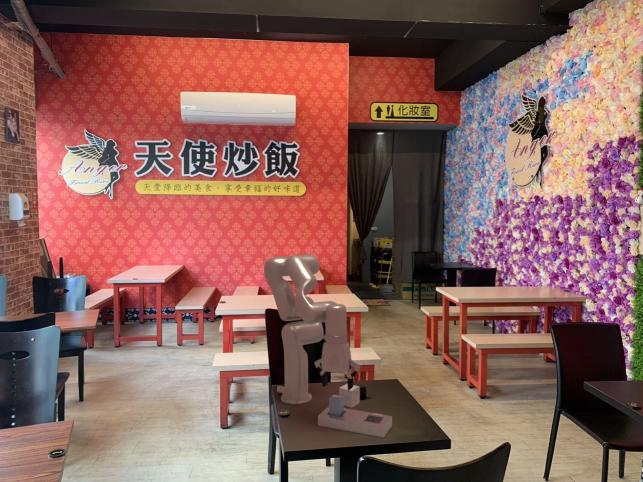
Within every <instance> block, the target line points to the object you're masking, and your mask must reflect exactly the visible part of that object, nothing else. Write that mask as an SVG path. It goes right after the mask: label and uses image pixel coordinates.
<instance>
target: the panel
mask: <svg viewBox="0 0 643 482" xmlns="http://www.w3.org/2000/svg"><path fill="white" fill-rule="evenodd" d="M317 426H319V427H323V428H325V427H326V428H329V429H334V430H341V431H346V432H351V433H356V434H362V435H367V436H372V437H377V438H382V439H383V438H385V437H386V435H387V434H388V432H389V431H390V430H391V428H392V427H393V416H392V415H387V414H382V413H376V412H369V411H364V410H358V409H353V408H345V407H344V414H343V415H342V416H341V417H339V416H333V415H329V405H328V406H326V408H324V410H323V411H321V412H320V414H317Z"/></svg>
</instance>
